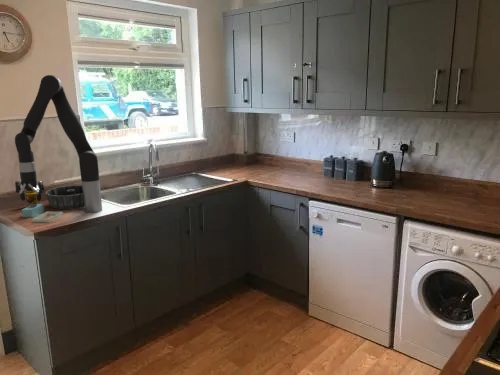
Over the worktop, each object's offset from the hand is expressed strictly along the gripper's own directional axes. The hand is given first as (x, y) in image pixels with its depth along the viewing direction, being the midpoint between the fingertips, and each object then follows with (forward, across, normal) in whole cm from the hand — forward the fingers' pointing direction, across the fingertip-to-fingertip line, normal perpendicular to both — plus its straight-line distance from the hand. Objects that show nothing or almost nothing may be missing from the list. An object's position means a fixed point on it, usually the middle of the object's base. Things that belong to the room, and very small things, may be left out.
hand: (31, 200), depth 220 cm
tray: (+8, -12, +7) cm, 17 cm away
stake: (+9, 0, 0) cm, 9 cm away
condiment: (+9, +10, -16) cm, 21 cm away
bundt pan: (+9, -12, -20) cm, 25 cm away
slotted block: (+8, 0, 0) cm, 8 cm away
